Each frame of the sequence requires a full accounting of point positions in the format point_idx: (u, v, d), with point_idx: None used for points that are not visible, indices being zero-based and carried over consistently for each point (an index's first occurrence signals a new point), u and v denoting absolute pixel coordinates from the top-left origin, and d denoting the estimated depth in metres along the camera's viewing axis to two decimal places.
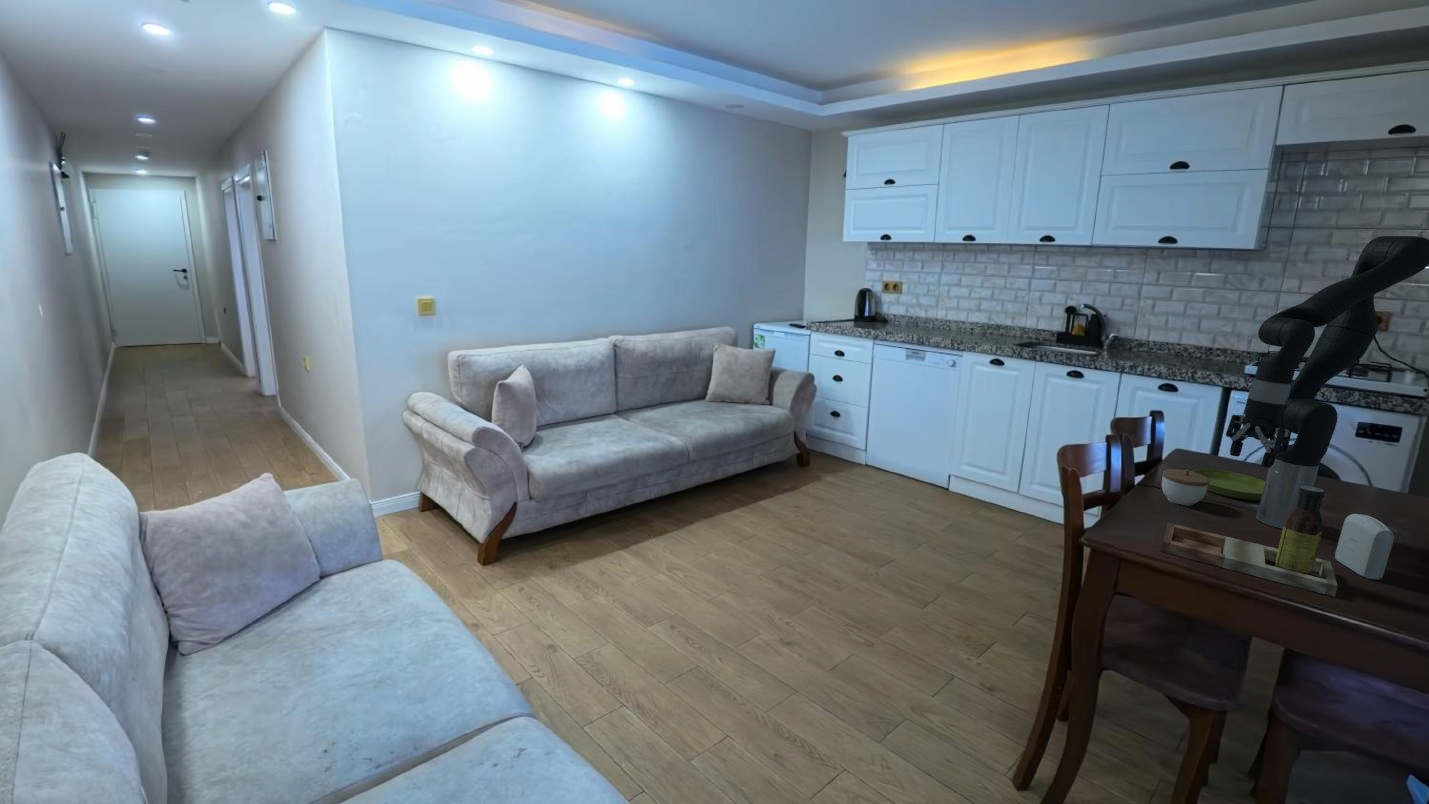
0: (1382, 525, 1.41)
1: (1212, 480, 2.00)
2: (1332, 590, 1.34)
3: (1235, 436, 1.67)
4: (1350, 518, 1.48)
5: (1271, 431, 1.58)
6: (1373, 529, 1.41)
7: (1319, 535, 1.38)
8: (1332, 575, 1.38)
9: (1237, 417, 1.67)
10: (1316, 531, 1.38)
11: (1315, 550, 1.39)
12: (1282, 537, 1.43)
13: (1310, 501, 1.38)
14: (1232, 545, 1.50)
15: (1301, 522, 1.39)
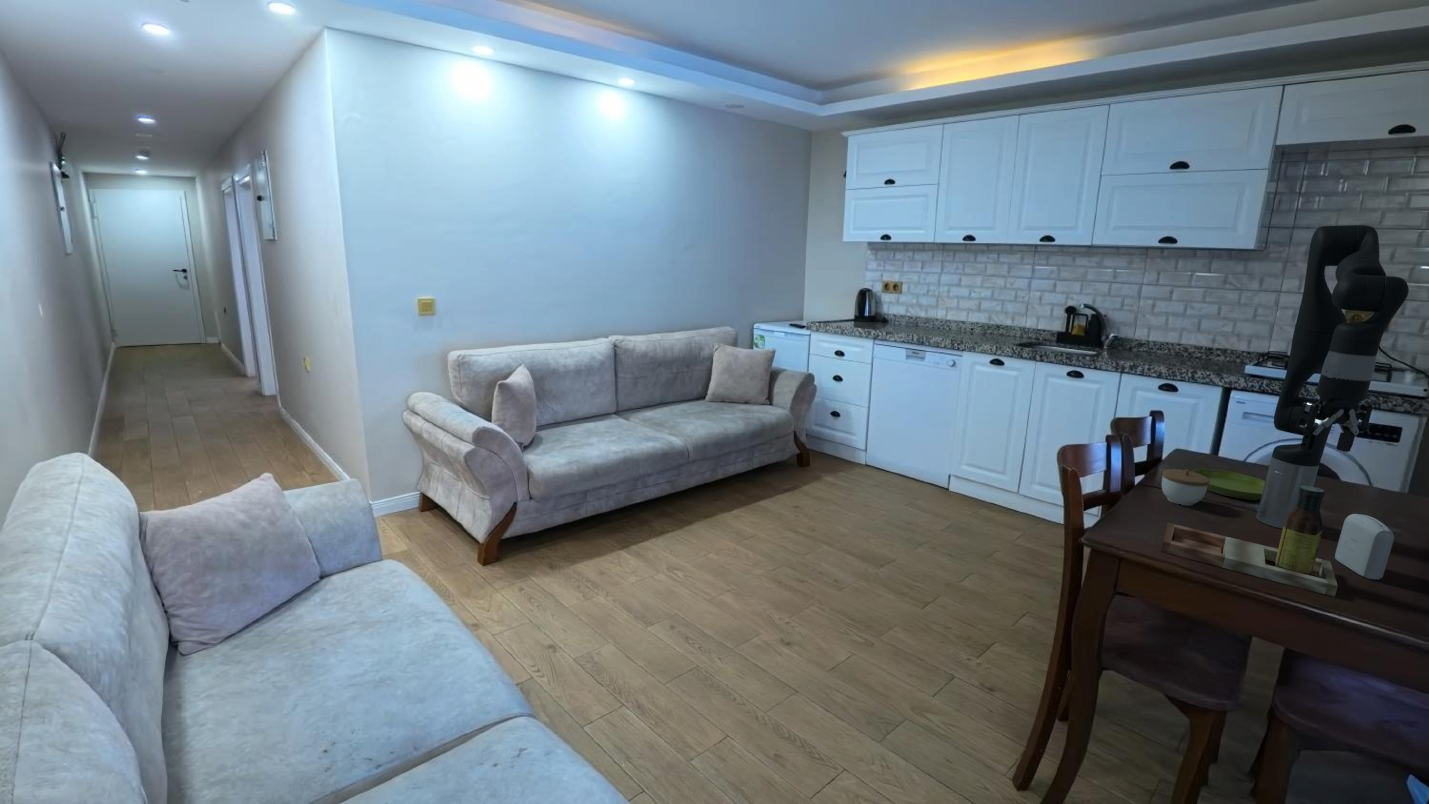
0: (1382, 525, 1.41)
1: (1212, 480, 2.00)
2: (1332, 590, 1.34)
3: (1318, 428, 1.34)
4: (1350, 518, 1.48)
5: None
6: (1373, 529, 1.41)
7: (1319, 535, 1.38)
8: (1332, 575, 1.38)
9: None
10: (1316, 531, 1.38)
11: (1315, 550, 1.39)
12: (1282, 537, 1.43)
13: (1310, 501, 1.38)
14: (1232, 545, 1.50)
15: (1301, 522, 1.39)
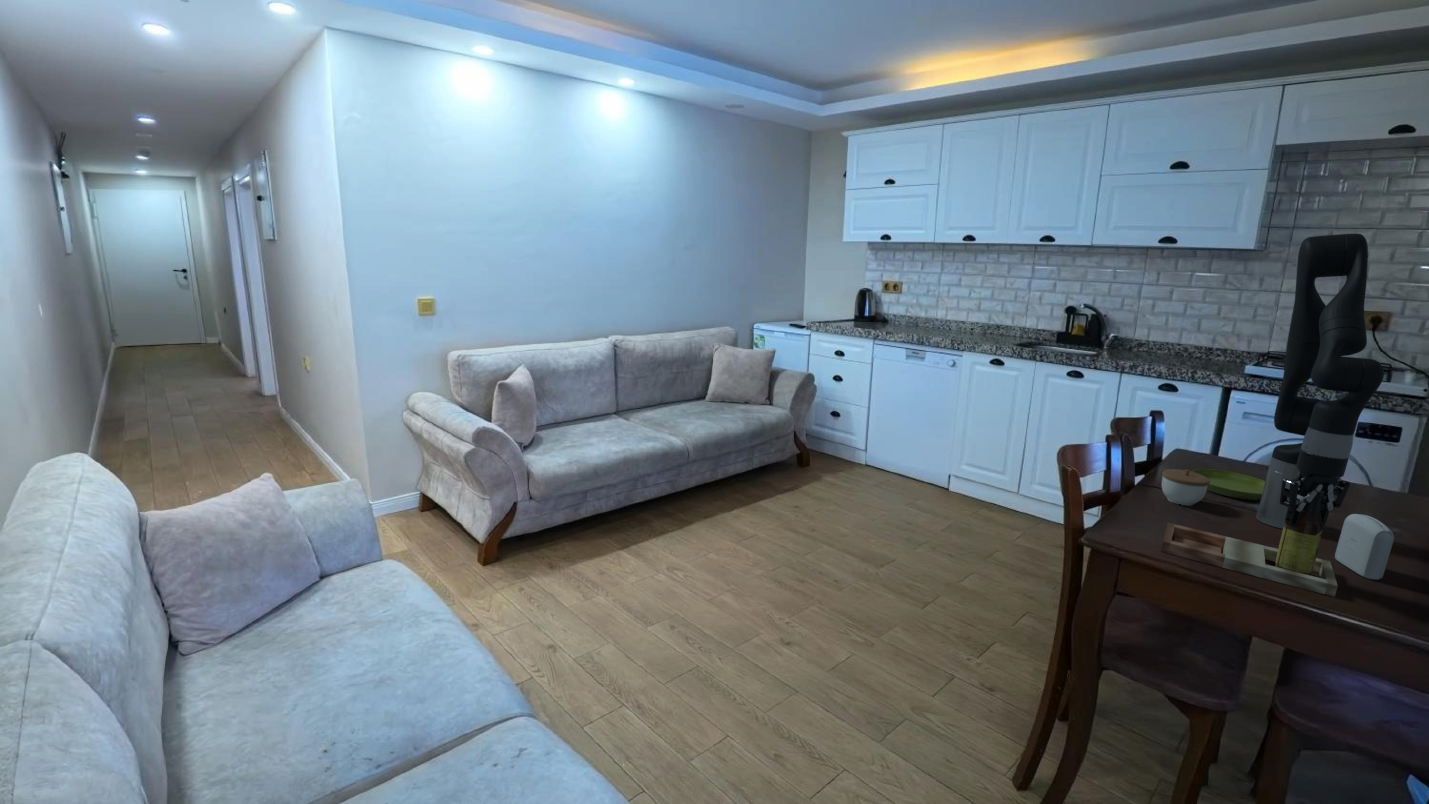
0: (1382, 525, 1.41)
1: (1212, 480, 2.00)
2: (1332, 590, 1.34)
3: (1302, 505, 1.38)
4: (1350, 518, 1.48)
5: None
6: (1373, 529, 1.41)
7: (1319, 535, 1.38)
8: (1332, 575, 1.38)
9: None
10: (1316, 531, 1.38)
11: (1315, 550, 1.39)
12: (1282, 537, 1.43)
13: None
14: (1232, 545, 1.50)
15: (1301, 522, 1.39)
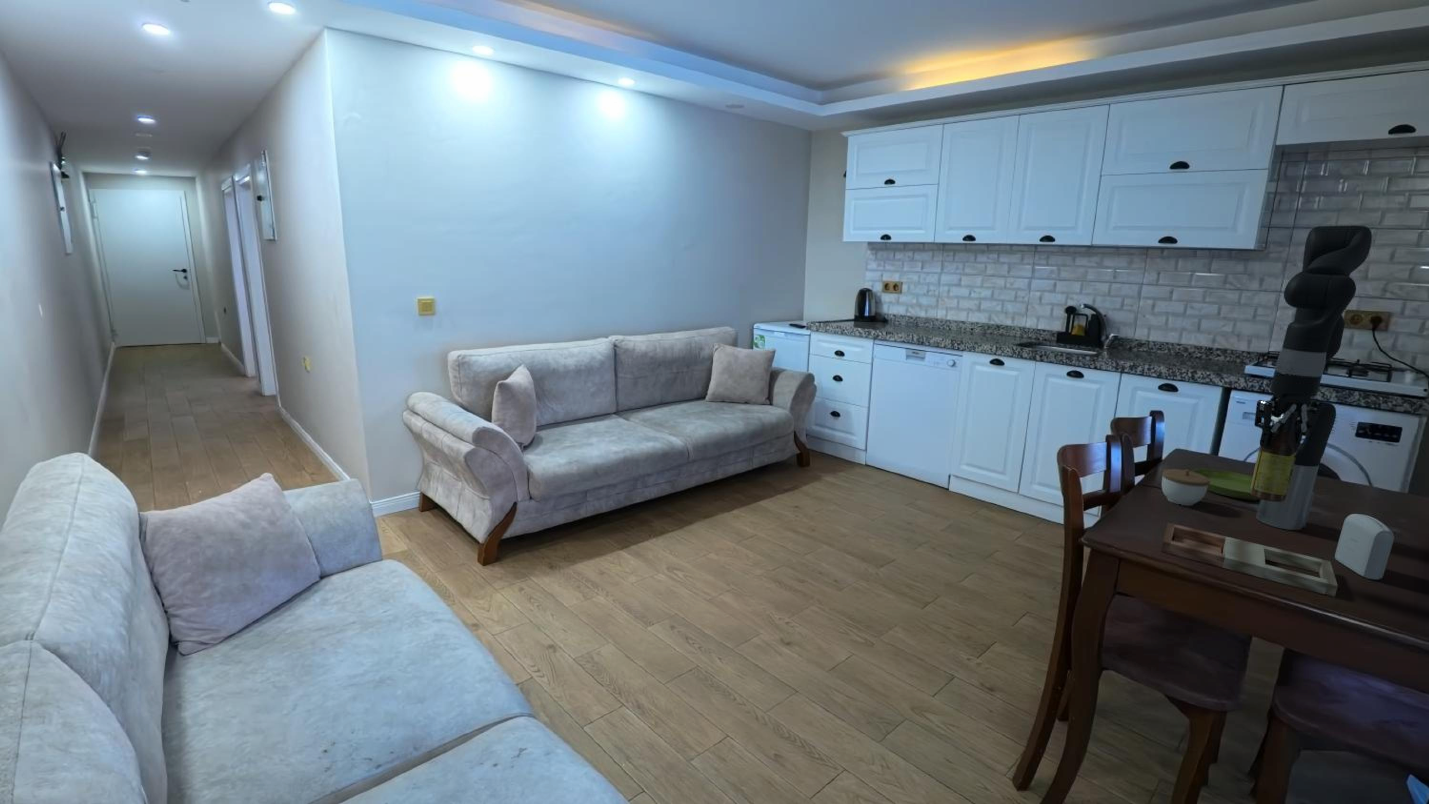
0: (1382, 525, 1.41)
1: (1212, 480, 2.00)
2: (1332, 590, 1.34)
3: (1276, 426, 1.38)
4: (1350, 518, 1.48)
5: None
6: (1373, 529, 1.41)
7: (1293, 456, 1.39)
8: (1332, 575, 1.38)
9: None
10: (1290, 452, 1.38)
11: (1290, 471, 1.39)
12: (1257, 461, 1.43)
13: None
14: (1232, 545, 1.50)
15: (1276, 444, 1.39)
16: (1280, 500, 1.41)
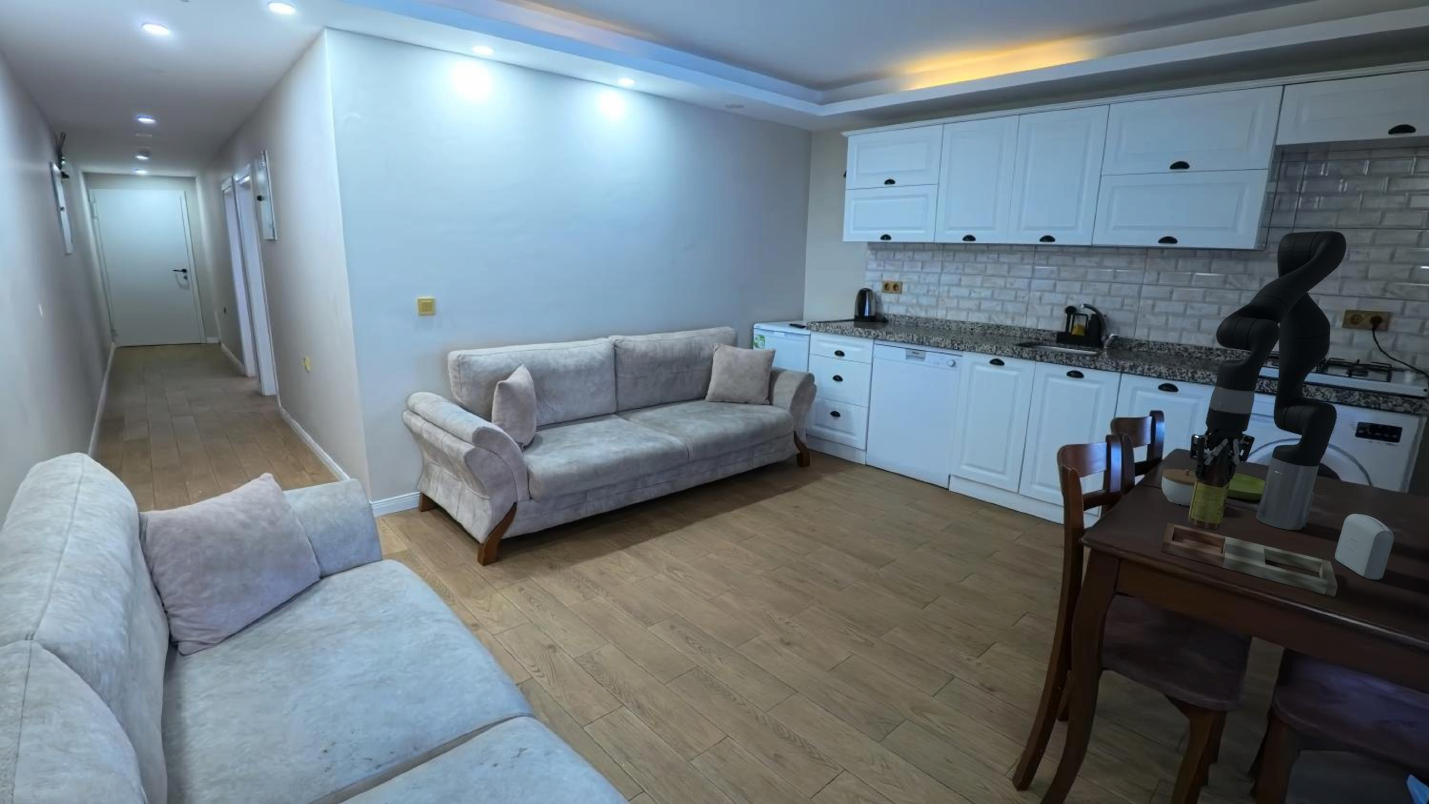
0: (1382, 525, 1.41)
1: None
2: (1332, 590, 1.34)
3: (1209, 459, 1.46)
4: (1350, 518, 1.48)
5: None
6: (1373, 529, 1.41)
7: (1226, 487, 1.47)
8: (1332, 575, 1.38)
9: None
10: (1223, 484, 1.46)
11: (1223, 501, 1.47)
12: (1194, 490, 1.51)
13: (1217, 455, 1.47)
14: (1232, 545, 1.50)
15: (1210, 475, 1.47)
16: (1214, 528, 1.49)
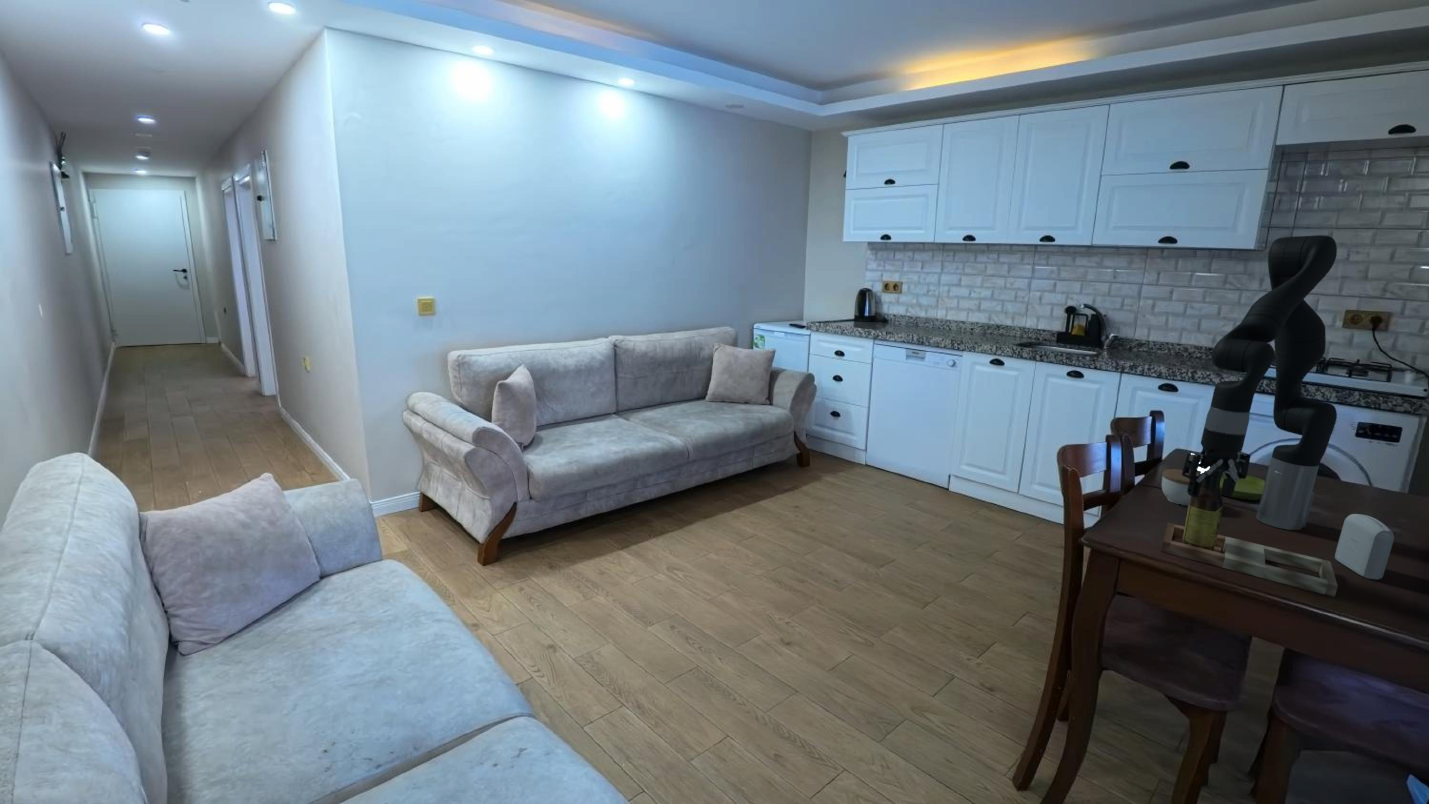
0: (1382, 525, 1.41)
1: None
2: (1332, 590, 1.34)
3: (1201, 476, 1.47)
4: (1350, 518, 1.48)
5: None
6: (1373, 529, 1.41)
7: (1219, 511, 1.48)
8: (1332, 575, 1.38)
9: None
10: (1216, 508, 1.48)
11: (1216, 525, 1.49)
12: (1187, 514, 1.53)
13: (1210, 479, 1.48)
14: (1232, 545, 1.50)
15: (1202, 500, 1.49)
16: None
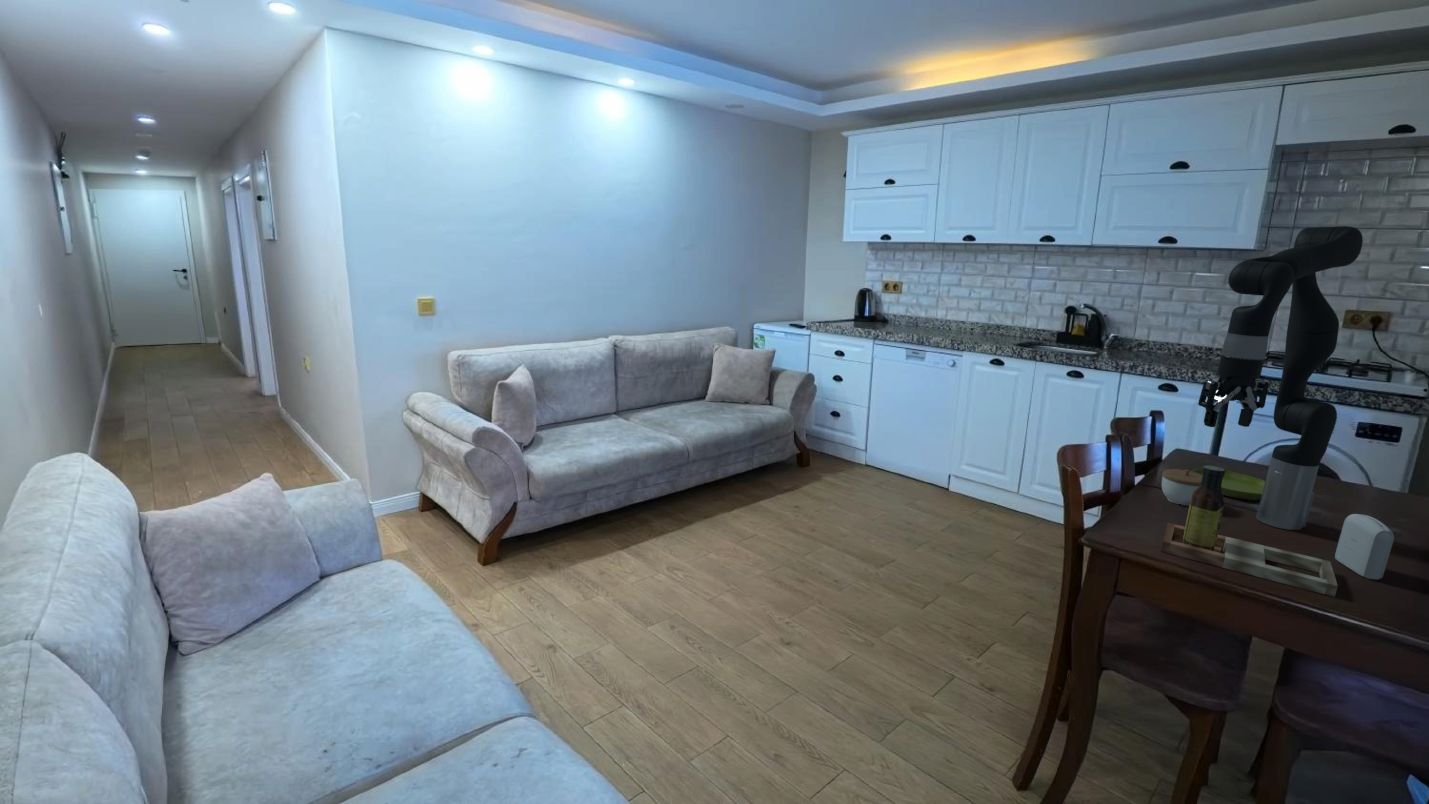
0: (1382, 525, 1.41)
1: None
2: (1332, 590, 1.34)
3: (1218, 405, 1.43)
4: (1350, 518, 1.48)
5: None
6: (1373, 529, 1.41)
7: (1220, 511, 1.48)
8: (1332, 575, 1.38)
9: None
10: (1217, 508, 1.48)
11: (1217, 525, 1.49)
12: (1188, 514, 1.53)
13: (1211, 479, 1.48)
14: (1232, 545, 1.50)
15: (1204, 499, 1.49)
16: None
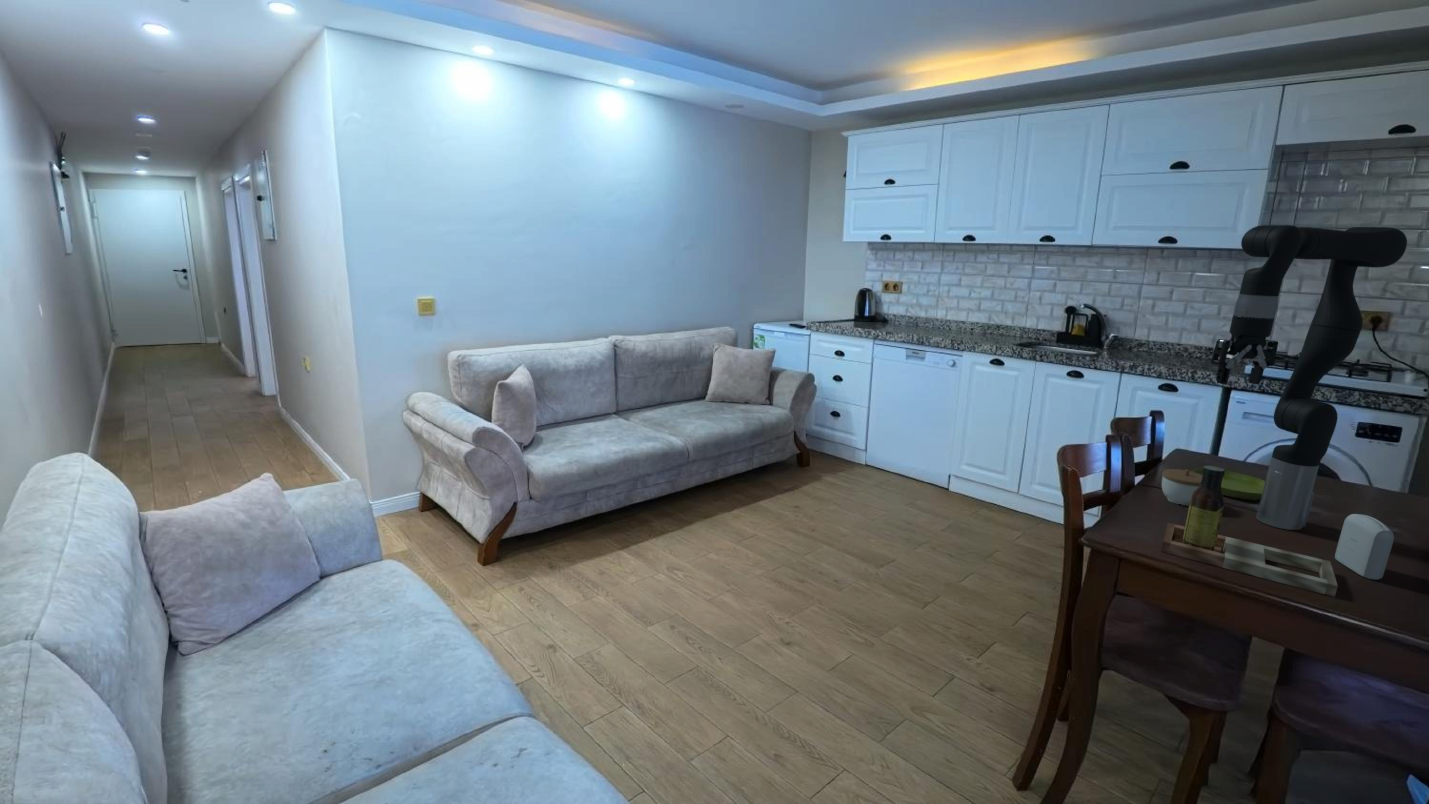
0: (1382, 525, 1.41)
1: None
2: (1332, 590, 1.34)
3: (1230, 362, 1.51)
4: (1349, 518, 1.48)
5: None
6: (1373, 529, 1.41)
7: (1220, 511, 1.48)
8: (1332, 575, 1.38)
9: None
10: (1217, 508, 1.48)
11: (1216, 525, 1.49)
12: (1188, 514, 1.53)
13: (1211, 479, 1.48)
14: (1232, 545, 1.50)
15: (1204, 499, 1.49)
16: None
